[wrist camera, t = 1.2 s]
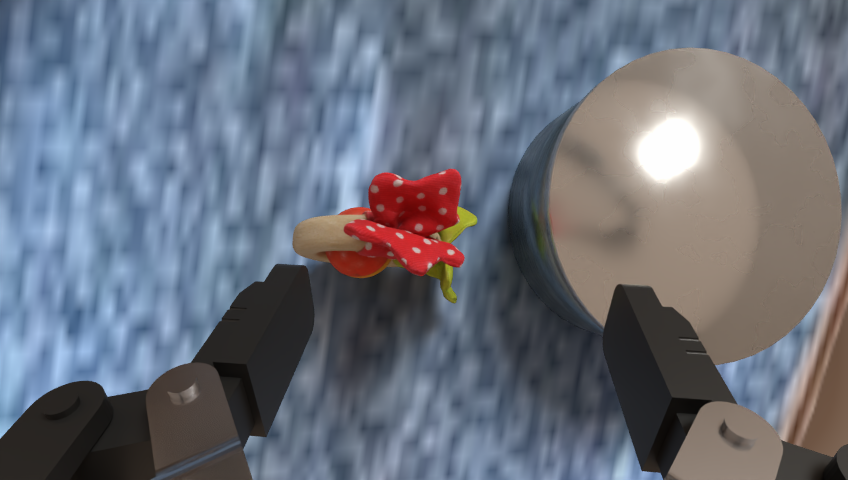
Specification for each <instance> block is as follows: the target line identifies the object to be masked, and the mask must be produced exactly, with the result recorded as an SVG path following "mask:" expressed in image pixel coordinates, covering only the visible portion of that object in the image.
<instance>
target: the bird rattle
mask: <svg viewBox="0 0 848 480" xmlns="http://www.w3.org/2000/svg"><path fill="white" fill-rule="evenodd" d="M460 190H461V176H460V174H459V172H458V171H457V170H455V169H448V170H445V171H442V172H439V173H437V174H433V175H430V176H427V177H424V178H422V179H420V180H417V181H409V180H405V179H403V178H401V177H400V176H398V175H395V174H392V173H381V174H378V175H377V176H375V177H374V179H373V180H372V183H371V185H370V187H369V192H368V193H369V205H370V209H369V208H363V207H356V208H351V209H347V210H345V211H343V212H341V213H340V214H338V215H331V216H321V217H315V218H311V219H307V220H305V221H302V222H301V223H299V224H298V225H297V226H296V227H295V230H294V234H293V249H294V250H295V252H296V253H297V254H299V255H300V256H303V257H305V258H309V259H313V260H317V261H322V262H328V263H331V264H332V265H333V266H334V268H335V269H337V270H338V271H339V272H341V273H342V274H345V275H347V276H350V277H355V278H366V277H371V276H374V275H376V274H378V273H380V272H381V271H382V270H384V269H385V268H386V267H402V268H405V269H407V270H408V271H409V272H411V273H412V274H415V275H418V276H424V275H425V274H427V275H428V276H431V277H435V278H437V279H440V287H441V289H442V292H443V295H444V297H445V298H446V299H447V300H448V301H450V302H452V303H456V300H457V296H456V294H455V293H454V291H453V290H452V288H451V283H452V279H453V267H461V266H462V264H463V262H464V255H463V254H462V253H461V252H460V251H459V250H458V249H457V248H456V247H455V246H453V245H452V244H451V243H452V242H453V241H454V240H455V239H456V238H457V237H458V236H459V235H460V234H461V233H462V232H463V230H464V229H465V228H467V227H469V226H474V225H476V224H477V217H476V216H475V215H473V214H472V213H470V212H469V211H467V210H465V209H463V208H461V207H458V202H459V196H460Z"/></svg>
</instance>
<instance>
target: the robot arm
mask: <svg viewBox="0 0 848 480" xmlns="http://www.w3.org/2000/svg"><path fill="white" fill-rule="evenodd" d="M313 325H314V306H313V300H312V293H311V287H310V280H309V274H308V270H307V267H306V266H304V265H287V264H276V265H275V266H274V267H273V269H272V270H271V272H270V273H269V275H268V277H267V278H266V280H265V281H264V282H256V281H255V282H254V283H253V284H251V285H250V286H249V287H247V288H246V289H244V290H243V291H242V292H240V293H239V295H238V296H237V297H236V299H235V300H234V302H233V303H232V305H231V306H230V310H227V312H226V313H225V315H224V316H223V317H222V321H220V322H219V323H218V325H217V326H216V327H215V329H214V330H213V332H212V333H211V335H210V336H209V337H208V339H207V340H206V342H205V343H204V345H203V346H202V347H201V349H200V350H199V352H198V353H197V355H196V356H195V358H194V359H193V360H192V362H191V363H188V364H184V365H180V366H177V367H175V368H173V369H171V370H169V371H167V372H166V373H164V374H163V375H161V376H160V377H159V378H158V379H156V380H155V382H154V383H153V384H152V385H151V387H150V388H149V389H148V390H144V391H138V392H133V393H127V394H122V395H116V396H111V397H107V395H106V393H105V391H104V389H103V387H102V386H101V385H100V384H98V383H96V382H92V381H78V382H72V383H69V384H65V385H63V386H60V387H58V388H56V389H53V390H52V391H50V392H48V393H46V394H45V395H43V396H42V397H40V398H39V399H38V400H36V401H35V402H34V403H33V404H32V405H31V406H30V407H29V408H28V409H27V410H26V411H25V412H24V413H23V415H22V416H21V417H20V418H19V419H18V420H17V421H16V422H15V423H14V424H13V426H12V427H11V428H10V429H9V430H8V431H7V432H6V433H5V434H4V435H3V436H2V438H1V439H0V480H253V479H252V476H251V473H250V470H249V467H248V464H247V461H246V457H245V454H244V451H243V448H244V446H245V444H246V442H247V440H248V438H249V436H261V437H267V434H268V432H269V430H270V428H271V425H272V423H273V421H274V418H275V416H276V414H277V411H278V409H279V407H280V405H281V402H282V400H283V398H284V395H285V393H286V391H287V388H288V386H289V384H290V381H291V379H292V377H293V375H294V372H295V370H296V368H297V365H298V363H299V361H300V358H301V356H302V354H303V352H304V349H305V347H306V345H307V342H308V340H309V338H310V335H311V333H312V330H313ZM603 351H604V355H605V358H606V361H607V364H608V368H609V371H610V374H611V377H612V380H613V383H614V386H615V389H616V392H617V395H618V399H619V402H620V405H621V408H622V411H623V414H624V417H625V420H626V423H627V427H628V430H629V433H630V436H631V439H632V442H633V445H634V448H635V451H636V454H637V458H638V461H639V464H640V467H641V470H642V471H647V472H658V473H661V475H662V477H663V480H848V444H847V445H844V446H843V447H841V448H840V449H839V450H838V452H837V453H836V455H835V456H834V457H830V456H827V455H824V454H821V453H818V452H815V451H812V450H809V449H805V448H802V447H799V446H796V445H793V444H790V443H787V442H785V441H782V440H781V439H780V437H779V435H778V434H777V432H776V431H775V430H774V428H773V427H772V426H771V425H770V424H769V423H768V422H767V421H765V420H764V419H763V418H762V417H760V416H759V415H757V414H756V413H754V412H753V411H751V410H749V409H747V408H745V407H743V406H740V405H738V404H737V403H736V401H735V399H734V398H733V396H732V394H731V392H730V391H729V389H728V387H727V385H726V384H725V382H724V380H723V379H722V377H721V375H720V373H719V372H718V370H717V368H716V367H715V365H714V363H713V361H712V360H711V358H710V356H709V355H707V353H706V352H707V351H706V349H705V348H704V346H703V344H702V343H701V341H699V337H698V336H697V334H696V332H695V331H694V329H693V327H692V325H691V324H690V322H689V321H688V320H687V319H686V318H684V317H683V316H682V315H681V314H680V313H679V312H677V311H676V310H675V309H674V308H673V307H662V305H661V303H660V301H659V299H658V297H657V296H656V294H655V292H654V290H653V288H652V287H651V286H647V285H629V284H618V285H617V286H616V287H615V290H614V293H613V297H612V300H611V304H610V308H609V312H608V315H607V319H606V323H605V327H604V331H603Z"/></svg>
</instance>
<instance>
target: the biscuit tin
mask: <svg viewBox="0 0 848 480" xmlns="http://www.w3.org/2000/svg"><path fill="white" fill-rule="evenodd" d="M508 224H509V232H510V239H511V243H512V247H513V251H514V254H515V257H516V260H517V262H518V264H519V267H520V269H521V271H522V273H523V275H524V277H525V278H526V280H527V282H528V284H529V285H530V287H531V288H532V289H533V291H534V292H535V293H536V295H537V296H538V297H539V298H540V299H541V300H542V301H543V302H544V303H545V304H546V305H547V306H548V307H549V308H550V309H551V310H552V311H553V312H555V313H556V314H557V315H559V316H560V317H561V318H563V319H564V320H566V321H568V322H570V323H571V324H573V325H575V326H577V327H579V328H582V329H584V330H587V331H589V332H592V333H595V334H598V335H601V336H603V331H604V327H605V323H606V319H607V315H608V312H609V308H610V304H611V300H612V297H613V293H614V290H615V287H616V286H617V285H618V284H629V285H647V286H651V287H652V288H653V290H654V292H655V294H656V296H657V297H658V299H659V301H660V303H661V305H662V307H673V308H674V309H675V310H676V311H677V312H679V313H680V314H681V315H682V316H683V317H684V318H686V319H687V320H688V321H689V322H690V324H691V325H692V327H693V329H694V331H695V332H696V334H697V336H698V337H699V341H701V343H702V344H703V346H704V348H705V349H706V351H707V352H706V353H707V355H709V356H710V358H711V360H712V361H713V363H714V365H719V364H724V363H729V362H735V361H738V360H741V359H744V358H747V357H749V356H752V355H755V354H756V353H758V352H760V351H762V350H764V349H766V348H768V347H770V346H772V345H773V344H774V343H776V342H777V341H779V340H780V339H781V338H783V337H784V336H786V335H787V334H788V333H789V332H790V331H791V330H792V329H793V328H794V327H795V326H796V325H797V324H799V323H800V321H801V320H802V319H803V318H804V317H805V315H806V314H807V313H808V312H809V310H810V309H811V308H812V306H813V305H814V303H815V302H816V300H817V298H818V297H819V295H820V294H821V292H822V290H823V288H824V286H825V284H826V282H827V279H828V277H829V275H830V272H831V269H832V266H833V263H834V260H835V257H836V253H837V248H838V243H839V238H840V228H841V195H840V188H839V182H838V176H837V172H836V168H835V165H834V161H833V157H832V155H831V152H830V150H829V147H828V145H827V142H826V140H825V138H824V136H823V134H822V132H821V130H820V128H819V126H818V125H817V123H816V121H815V120H814V118H813V117H812V115H811V114H810V112H809V111H808V110H807V108H806V107H805V105H804V104H803V103H802V102H801V101H800V100H799V99H798V97H797V96H796V95H795V94H794V93H793V92H792V91H791V90H790V89H789V88H788V87H787V86H786V85H784V84H783V83H782V82H781V81H780V80H779V79H778V78H776V77H775V76H773V75H772V74H770V73H769V72H767V71H766V70H764V69H763V68H761V67H760V66H758V65H756V64H754V63H752V62H750V61H748V60H746V59H743V58H741V57H738V56H735V55H732V54H729V53H726V52H721V51H716V50H711V49H702V48H680V49H669V50H665V51H661V52H656V53H652V54H649V55H647V56H644V57H642V58H639V59H637V60H634V61H632V62H630V63H629V64H627V65H625V66H623V67H622V68H620V69H618V70H617V71H615V72H614V73H612V74H611V75H610V76H608V77H607V78H606V79H604V80H603V81H602V82H600V83H599V84H598V85H597V86H595V87H594V88H593V89H592V90H591V91H590V92H589V93H588V94H587V95H586V96H585V97H584V98H583V99H582V100H581V101H580V102H578V103H577V104H576V105H574V106H573V107H571V108H570V109H568V110H567V111H566V112H564V113H563V114H561V115H560V116H559V117H557V118H556V119H555V120H553V121H552V122H551V123H550V124H548V125H547V126H546V127H545V128H544V129H543V130H542V131H541V132H540V133H539V134H538V135H537V136H536V137H535V139H534V140H533V141H532V143H531V144H530V146H529V147H528V148H527V150H526V152H525V154H524V155H523V157H522V159H521V161H520V163H519V165H518V168H517V170H516V173H515V175H514V179H513V183H512V187H511V191H510V198H509V206H508Z"/></svg>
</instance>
